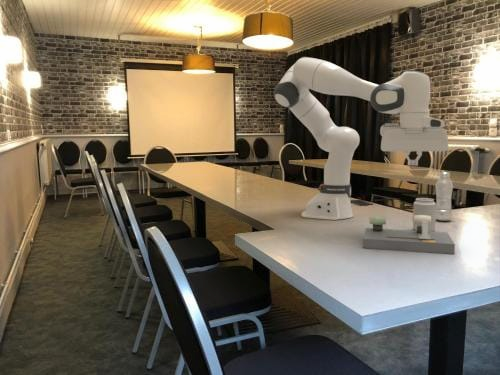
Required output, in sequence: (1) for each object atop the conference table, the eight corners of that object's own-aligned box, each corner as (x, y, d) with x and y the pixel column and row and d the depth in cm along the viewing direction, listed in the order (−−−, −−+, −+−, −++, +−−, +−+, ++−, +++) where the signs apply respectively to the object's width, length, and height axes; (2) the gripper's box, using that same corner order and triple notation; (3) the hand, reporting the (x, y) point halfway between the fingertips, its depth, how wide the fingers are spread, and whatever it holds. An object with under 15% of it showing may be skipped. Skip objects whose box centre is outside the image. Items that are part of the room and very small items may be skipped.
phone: (361, 199, 224) (374, 204, 209) (360, 201, 224) (373, 206, 210) (347, 200, 223) (359, 204, 208) (347, 202, 223) (359, 206, 208)
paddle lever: (419, 239, 127) (420, 222, 126) (418, 235, 131) (418, 219, 130) (430, 239, 126) (431, 222, 125) (429, 236, 130) (429, 220, 129)
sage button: (369, 224, 139) (369, 219, 139) (370, 221, 144) (370, 216, 144) (385, 225, 137) (385, 219, 137) (385, 222, 142) (385, 216, 142)
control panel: (363, 248, 130) (363, 232, 130) (365, 236, 145) (365, 222, 145) (454, 254, 122) (455, 237, 122) (446, 240, 137) (447, 226, 137)
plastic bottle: (454, 222, 166) (456, 172, 163) (436, 222, 167) (437, 172, 165) (449, 219, 172) (451, 171, 170) (432, 219, 173) (434, 171, 171)
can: (433, 229, 155) (435, 197, 153) (435, 233, 148) (437, 200, 146) (412, 228, 157) (413, 196, 156) (413, 232, 150) (414, 199, 149)
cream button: (414, 222, 135) (414, 217, 134) (413, 219, 139) (413, 214, 139) (431, 223, 133) (431, 218, 133) (430, 220, 138) (430, 215, 138)
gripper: (380, 122, 133) (379, 165, 134) (450, 121, 127) (448, 166, 129) (380, 123, 139) (379, 164, 140) (446, 122, 133) (444, 165, 135)
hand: (412, 165), depth 135 cm, fingers closed
